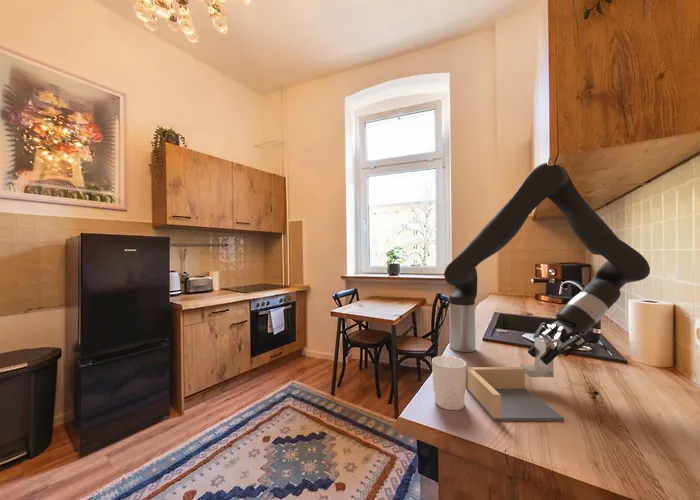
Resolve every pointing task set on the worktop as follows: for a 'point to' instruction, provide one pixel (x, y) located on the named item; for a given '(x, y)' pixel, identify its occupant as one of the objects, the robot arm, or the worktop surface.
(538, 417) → the corner tray
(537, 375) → the bracket
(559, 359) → the worktop surface
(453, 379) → the white cup
